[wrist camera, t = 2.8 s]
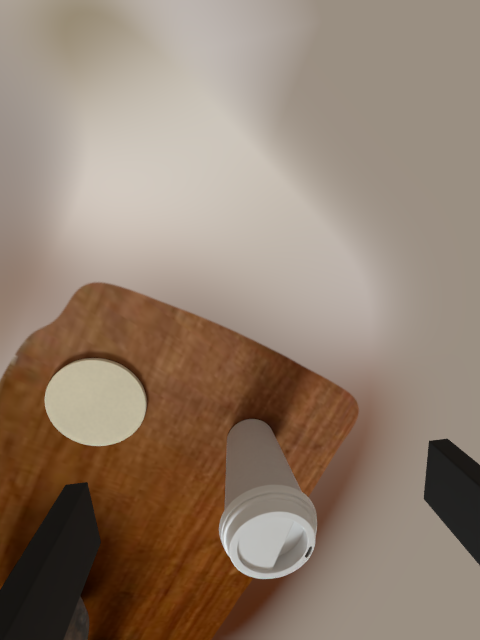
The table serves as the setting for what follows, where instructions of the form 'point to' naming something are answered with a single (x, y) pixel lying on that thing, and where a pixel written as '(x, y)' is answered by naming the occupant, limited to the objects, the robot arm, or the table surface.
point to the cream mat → (95, 401)
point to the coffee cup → (264, 506)
